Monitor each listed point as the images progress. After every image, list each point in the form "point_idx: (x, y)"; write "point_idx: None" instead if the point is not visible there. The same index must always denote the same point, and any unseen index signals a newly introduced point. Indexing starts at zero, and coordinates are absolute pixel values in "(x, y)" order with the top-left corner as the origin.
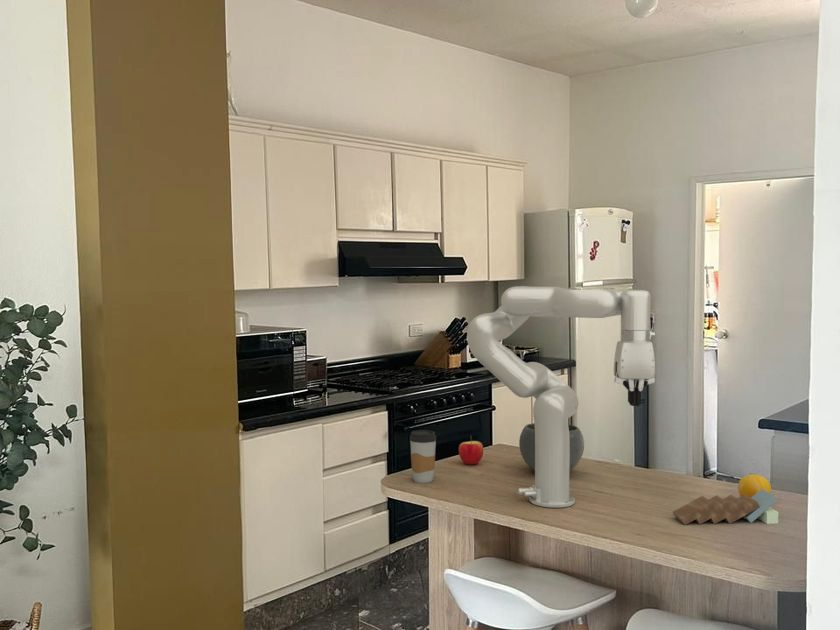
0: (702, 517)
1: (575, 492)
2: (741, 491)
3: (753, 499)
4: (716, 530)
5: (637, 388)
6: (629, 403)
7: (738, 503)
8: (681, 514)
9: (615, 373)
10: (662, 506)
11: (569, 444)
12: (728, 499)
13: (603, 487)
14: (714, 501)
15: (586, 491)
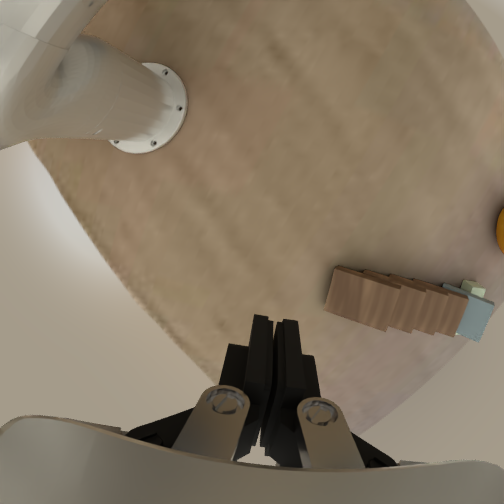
0: None
1: (222, 48)
2: (502, 227)
3: (457, 327)
4: (358, 338)
5: (277, 457)
6: (254, 315)
7: (427, 333)
8: (334, 296)
9: (13, 432)
10: (358, 190)
11: (109, 101)
12: (434, 303)
13: (303, 28)
14: (406, 305)
15: (250, 45)
